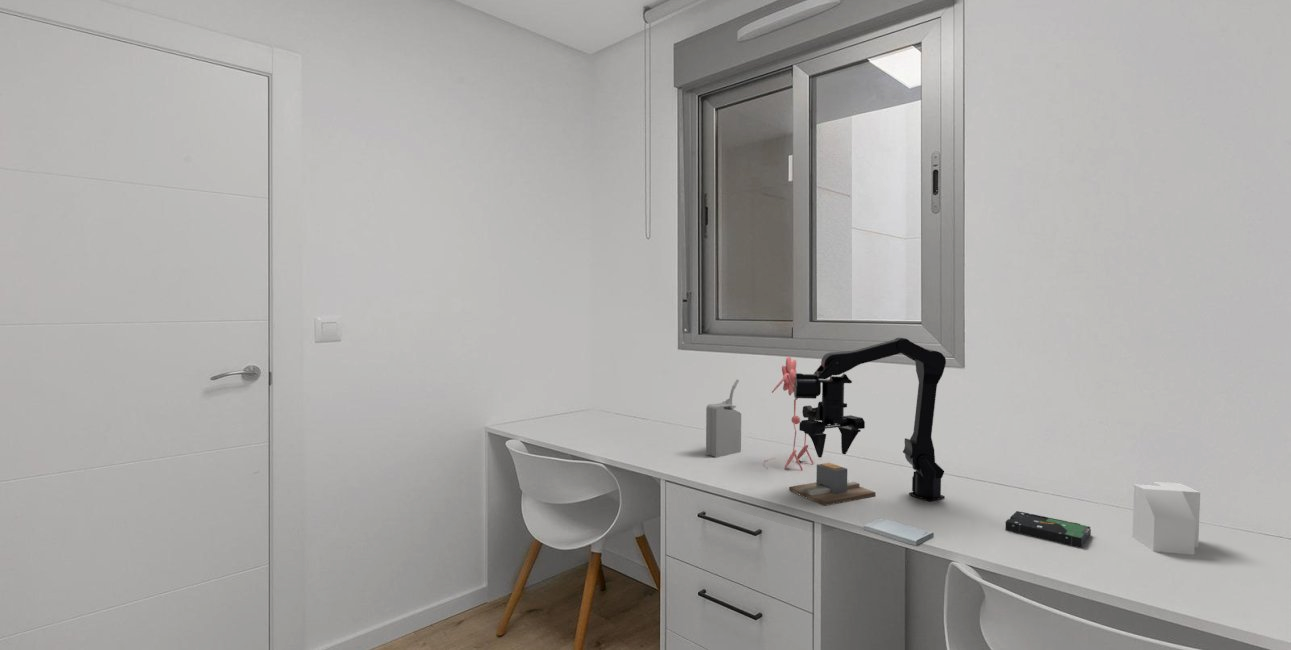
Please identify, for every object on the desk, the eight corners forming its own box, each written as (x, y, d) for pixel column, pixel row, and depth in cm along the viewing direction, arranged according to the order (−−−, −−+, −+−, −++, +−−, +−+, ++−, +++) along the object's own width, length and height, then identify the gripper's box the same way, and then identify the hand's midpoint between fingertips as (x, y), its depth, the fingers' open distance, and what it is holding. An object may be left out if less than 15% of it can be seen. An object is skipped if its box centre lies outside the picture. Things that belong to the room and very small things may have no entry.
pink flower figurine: (825, 459, 204) (824, 354, 203) (794, 476, 183) (793, 360, 182) (782, 453, 213) (781, 353, 212) (748, 469, 192) (746, 358, 191)
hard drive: (933, 532, 137) (882, 516, 146) (915, 541, 131) (863, 524, 141) (933, 539, 137) (881, 523, 146) (915, 548, 131) (863, 531, 141)
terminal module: (847, 491, 166) (847, 467, 165) (834, 494, 164) (834, 469, 163) (828, 484, 172) (829, 461, 172) (816, 487, 170) (816, 463, 170)
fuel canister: (735, 448, 219) (735, 378, 218) (745, 450, 216) (746, 380, 215) (705, 454, 209) (705, 382, 209) (716, 457, 206) (716, 383, 205)
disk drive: (1004, 533, 140) (1083, 550, 130) (1005, 521, 140) (1083, 537, 130) (1015, 521, 148) (1091, 537, 138) (1016, 510, 148) (1091, 524, 138)
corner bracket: (1178, 536, 138) (1180, 483, 137) (1212, 556, 126) (1215, 499, 126) (1124, 531, 140) (1126, 480, 139) (1153, 551, 129) (1155, 495, 128)
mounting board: (875, 495, 165) (875, 488, 165) (824, 505, 157) (824, 497, 157) (838, 482, 178) (838, 475, 178) (789, 490, 170) (789, 483, 170)
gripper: (837, 392, 178) (836, 446, 179) (786, 397, 170) (785, 452, 170) (866, 398, 168) (865, 454, 169) (814, 403, 160) (813, 462, 160)
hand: (831, 455), depth 167 cm, fingers open, 8 cm apart
